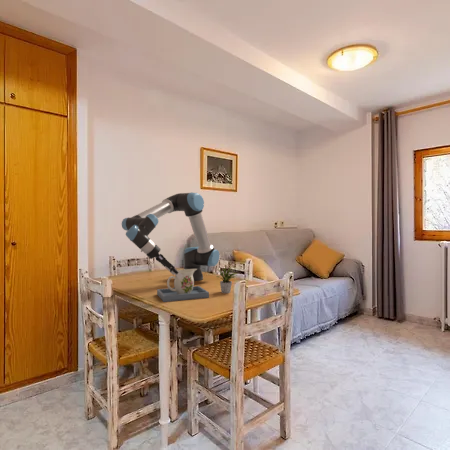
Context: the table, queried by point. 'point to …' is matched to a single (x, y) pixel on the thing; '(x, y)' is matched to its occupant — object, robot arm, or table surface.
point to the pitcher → (183, 282)
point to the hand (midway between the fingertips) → (178, 275)
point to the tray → (170, 295)
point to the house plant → (226, 280)
